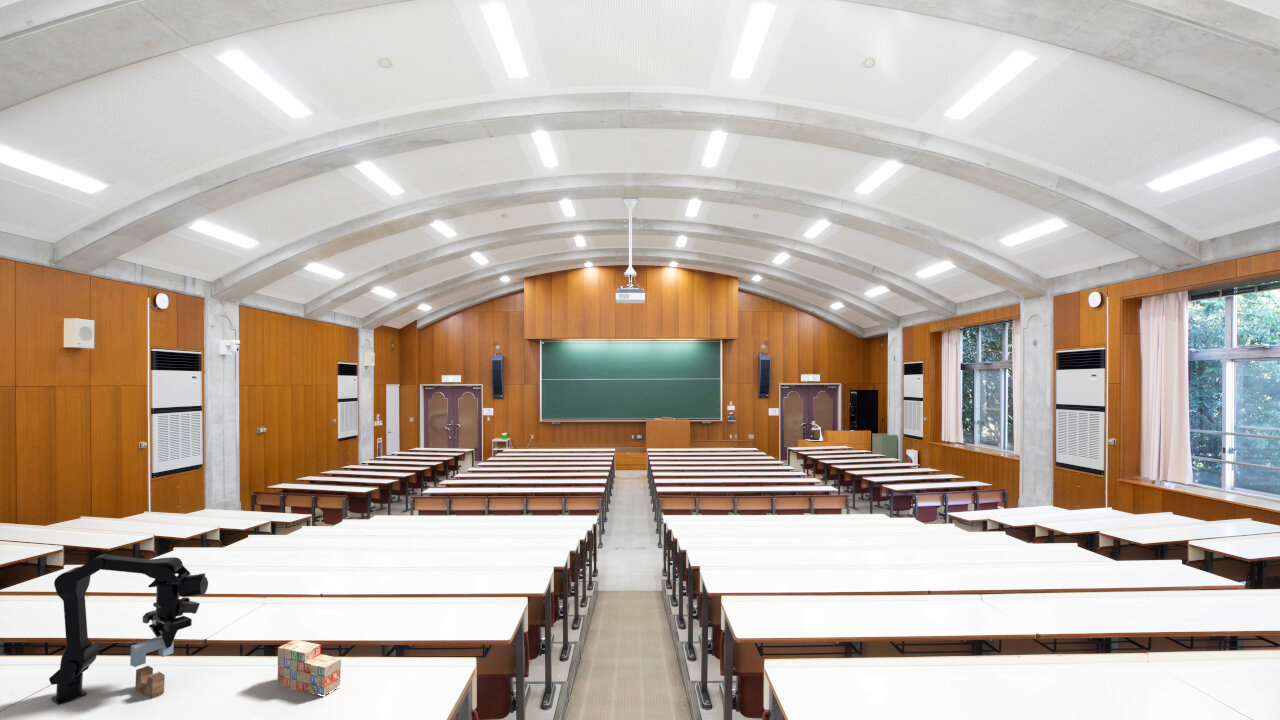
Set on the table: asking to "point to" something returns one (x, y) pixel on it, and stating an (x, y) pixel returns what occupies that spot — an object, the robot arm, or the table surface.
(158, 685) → the walnut notched block
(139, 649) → the slate notched plate
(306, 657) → the stack of blocks
